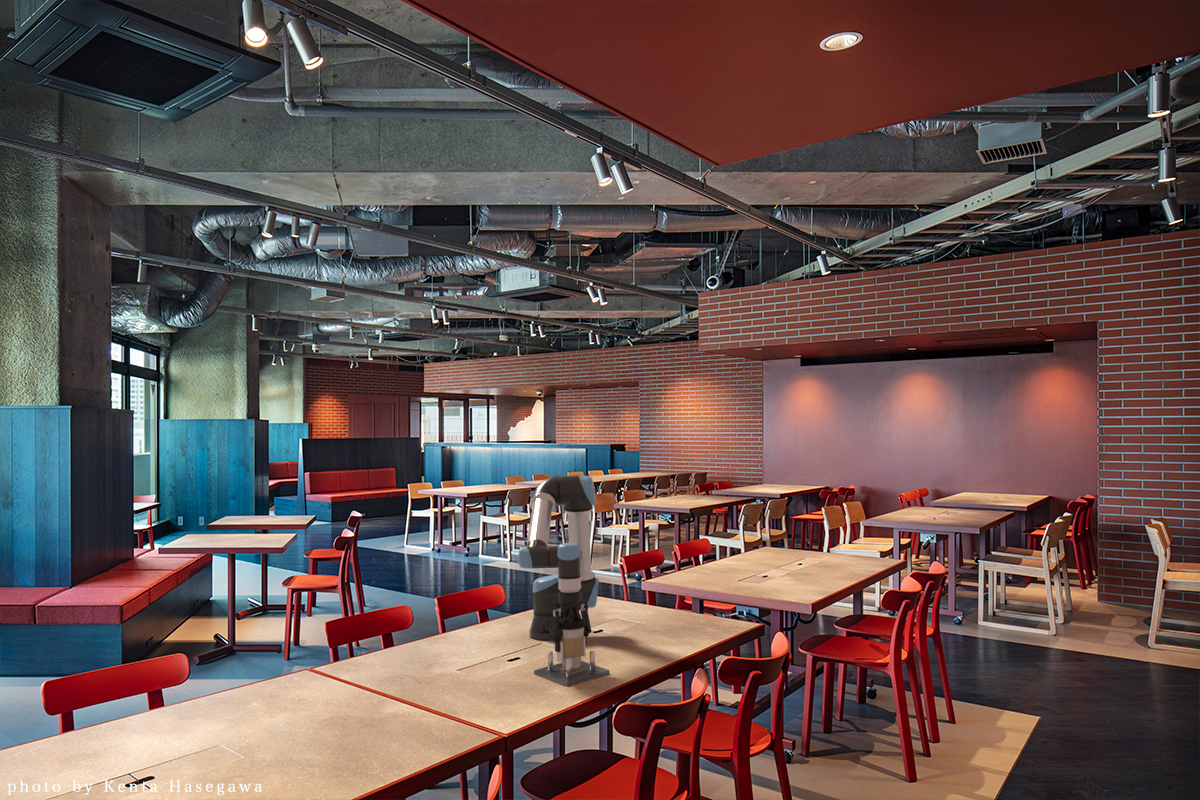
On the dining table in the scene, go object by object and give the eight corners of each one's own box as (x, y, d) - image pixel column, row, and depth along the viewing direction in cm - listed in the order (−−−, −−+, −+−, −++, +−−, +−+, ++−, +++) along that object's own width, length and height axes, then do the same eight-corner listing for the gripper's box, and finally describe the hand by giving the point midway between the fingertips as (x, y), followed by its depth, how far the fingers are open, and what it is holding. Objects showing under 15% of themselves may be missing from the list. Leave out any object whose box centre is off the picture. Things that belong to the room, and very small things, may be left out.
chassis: (576, 662, 255) (575, 641, 256) (609, 673, 241) (609, 651, 242) (534, 673, 244) (533, 652, 244) (566, 686, 230) (566, 663, 230)
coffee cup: (587, 661, 247) (586, 616, 248) (584, 670, 237) (583, 623, 238) (559, 661, 248) (558, 616, 249) (554, 670, 238) (553, 624, 239)
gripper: (587, 584, 254) (589, 649, 253) (537, 593, 240) (538, 663, 239) (601, 586, 248) (603, 654, 247) (550, 596, 234) (552, 668, 233)
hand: (571, 658), depth 243 cm, fingers closed on coffee cup, 9 cm apart
